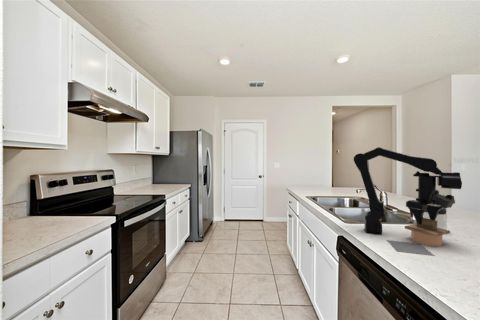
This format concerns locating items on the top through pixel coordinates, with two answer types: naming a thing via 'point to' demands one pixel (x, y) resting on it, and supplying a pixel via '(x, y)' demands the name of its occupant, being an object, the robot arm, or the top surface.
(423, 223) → the ridged wooden block
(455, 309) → the top surface
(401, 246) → the mat
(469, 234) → the top surface
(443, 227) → the jar
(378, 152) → the robot arm
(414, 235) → the bowl
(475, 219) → the top surface
